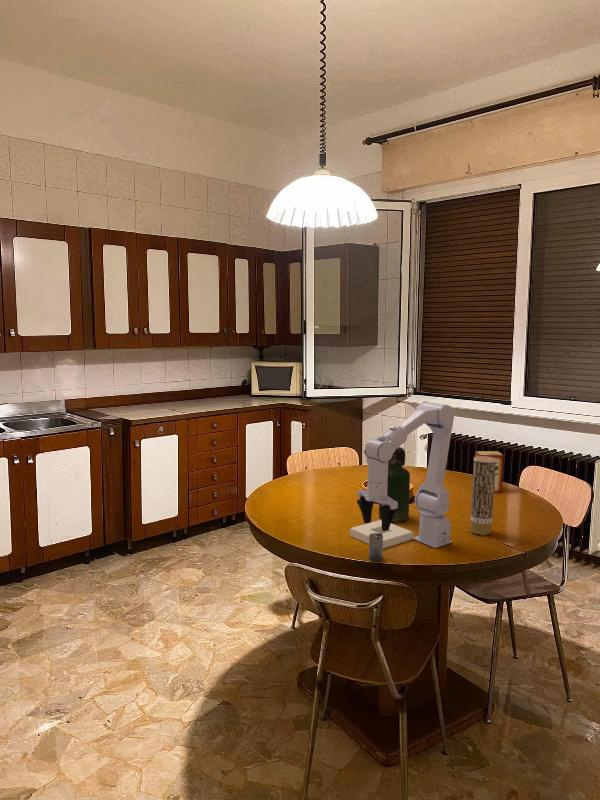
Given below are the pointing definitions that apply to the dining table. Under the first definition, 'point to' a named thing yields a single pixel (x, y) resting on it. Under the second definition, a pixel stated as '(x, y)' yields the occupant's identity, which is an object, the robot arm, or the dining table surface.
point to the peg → (375, 546)
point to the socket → (389, 536)
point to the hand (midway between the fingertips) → (376, 526)
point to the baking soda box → (498, 467)
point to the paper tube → (482, 495)
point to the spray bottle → (398, 485)
